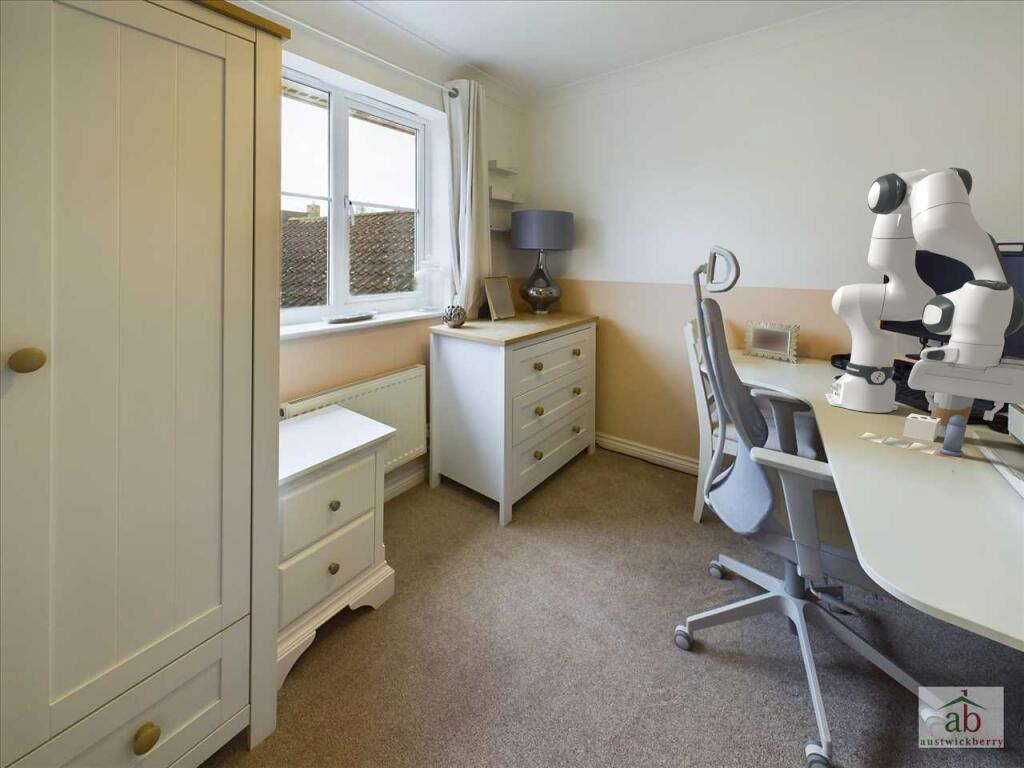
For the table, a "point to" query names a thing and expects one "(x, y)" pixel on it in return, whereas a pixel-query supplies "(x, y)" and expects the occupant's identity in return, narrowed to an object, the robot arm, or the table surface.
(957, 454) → the pawn
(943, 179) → the robot arm
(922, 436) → the die
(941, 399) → the coffee cup
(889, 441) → the board
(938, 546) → the table surface
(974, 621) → the table surface
